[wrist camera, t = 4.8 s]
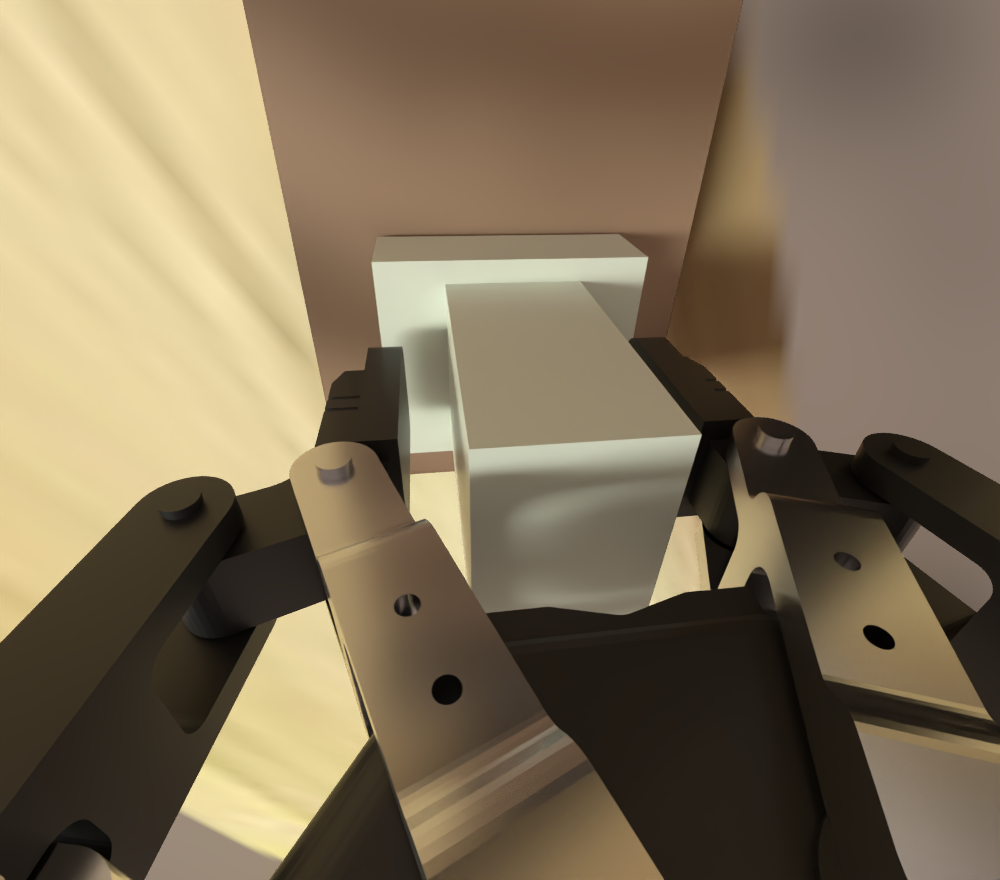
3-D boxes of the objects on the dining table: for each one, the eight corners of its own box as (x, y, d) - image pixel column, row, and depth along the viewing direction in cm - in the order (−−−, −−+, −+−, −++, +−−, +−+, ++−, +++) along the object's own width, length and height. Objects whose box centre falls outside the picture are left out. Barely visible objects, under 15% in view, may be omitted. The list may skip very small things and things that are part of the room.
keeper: (377, 236, 12) (335, 422, 6) (618, 234, 13) (823, 395, 6) (397, 413, 15) (384, 667, 9) (593, 402, 16) (716, 630, 9)
